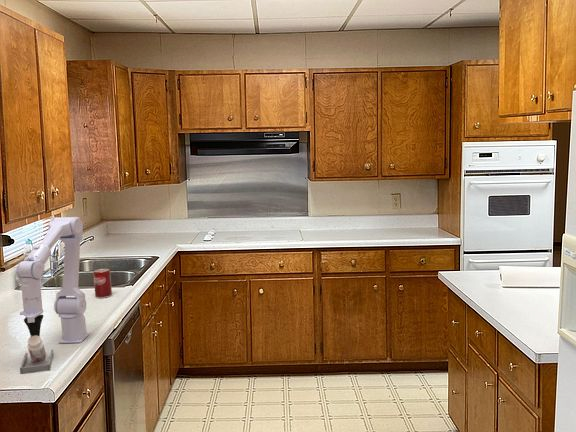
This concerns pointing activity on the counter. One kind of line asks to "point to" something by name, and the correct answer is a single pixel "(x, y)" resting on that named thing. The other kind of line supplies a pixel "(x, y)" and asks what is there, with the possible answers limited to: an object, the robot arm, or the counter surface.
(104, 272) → the soda can
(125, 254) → the counter surface
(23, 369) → the tray
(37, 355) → the pill bottle
